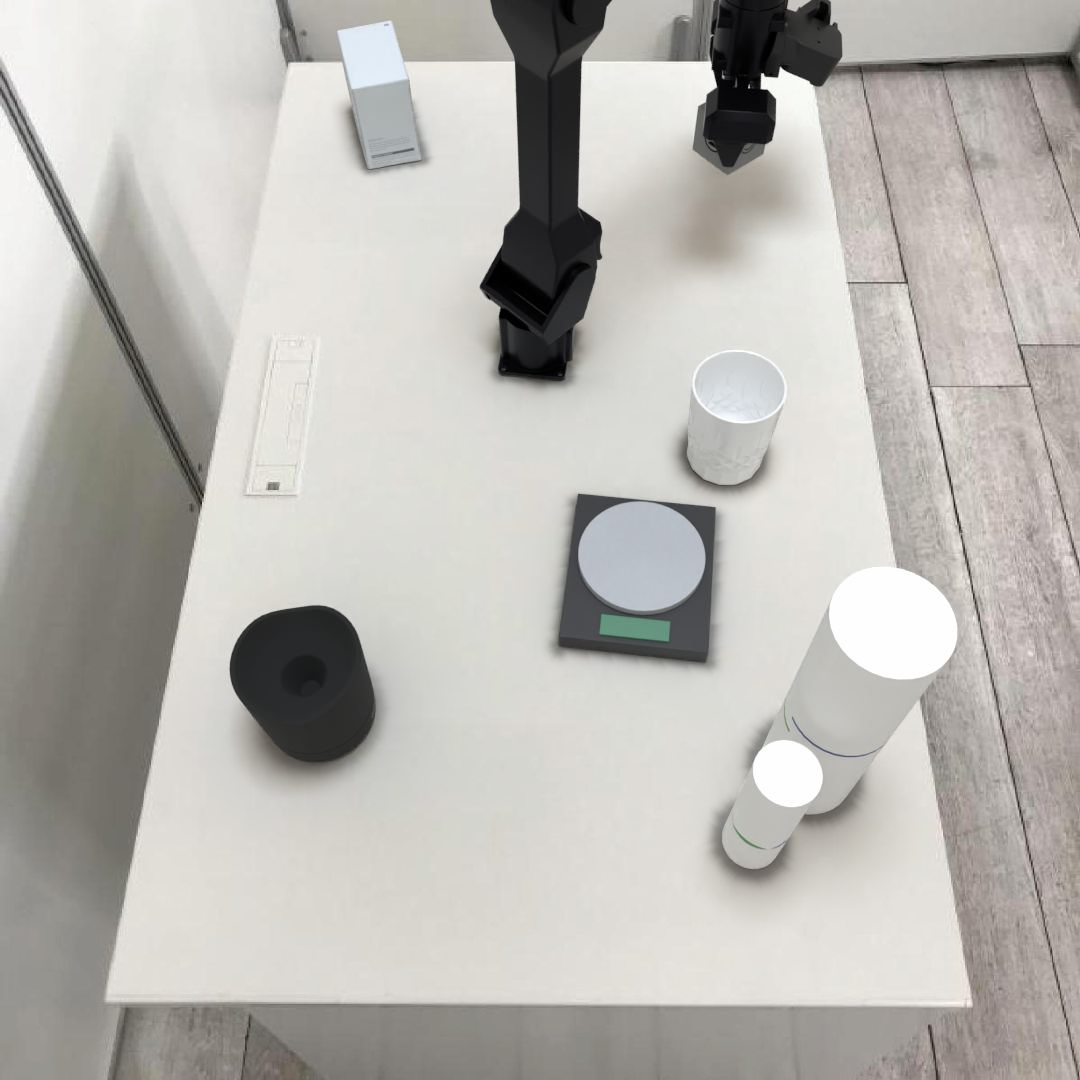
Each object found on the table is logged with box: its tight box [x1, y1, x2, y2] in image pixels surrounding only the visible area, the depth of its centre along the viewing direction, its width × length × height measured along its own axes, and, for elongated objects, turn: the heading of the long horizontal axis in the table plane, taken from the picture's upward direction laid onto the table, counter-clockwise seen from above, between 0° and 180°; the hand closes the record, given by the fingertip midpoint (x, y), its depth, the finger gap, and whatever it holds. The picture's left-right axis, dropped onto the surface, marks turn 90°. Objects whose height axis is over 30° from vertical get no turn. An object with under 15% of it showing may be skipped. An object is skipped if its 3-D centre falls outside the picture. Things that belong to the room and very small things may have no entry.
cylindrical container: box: [761, 566, 958, 815], centre depth 71 cm, size 7×7×25 cm
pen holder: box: [228, 604, 376, 763], centre depth 80 cm, size 9×9×10 cm
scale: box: [558, 493, 717, 663], centre depth 89 cm, size 12×14×3 cm
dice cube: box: [692, 86, 766, 176], centre depth 104 cm, size 5×5×5 cm
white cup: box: [686, 349, 788, 486], centre depth 93 cm, size 8×8×10 cm
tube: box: [721, 740, 823, 870], centre depth 73 cm, size 4×4×15 cm
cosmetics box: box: [336, 19, 423, 170], centre depth 116 cm, size 10×6×10 cm, turn 14°
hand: (729, 143), depth 106 cm, fingers closed on dice cube, 6 cm apart
